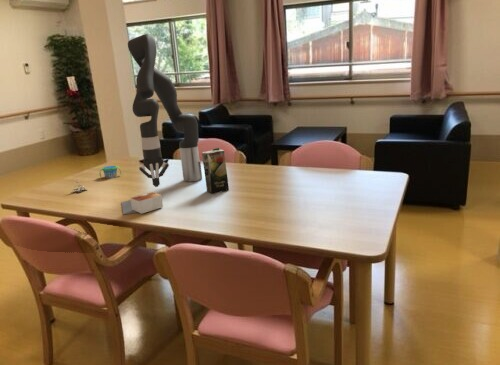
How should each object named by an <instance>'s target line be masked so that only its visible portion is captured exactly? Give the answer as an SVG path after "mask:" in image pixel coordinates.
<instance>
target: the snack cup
mask: <svg viewBox="0 0 500 365" xmlns="http://www.w3.org/2000/svg"><path fill="white" fill-rule="evenodd" d="M117 169H118V170H119V174H120V175H122V169H121V168H120V167H119V166H117V165H108V166H104V167H102V168H101V169H100V171H99V176H100V178H102V175H101V174H102V173H101V171H103V173H104V177H105V178H106V179H115V178H117V172H118V170H117Z"/></svg>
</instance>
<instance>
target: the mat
mask: <svg viewBox="0 0 500 365" xmlns="http://www.w3.org/2000/svg"><path fill="white" fill-rule="evenodd" d="M121 208H122V215H124V216H125V215H129V214H131V215H132V214H137V213H139V212H136V211H134V210H132V205H131V200H126V201H121Z"/></svg>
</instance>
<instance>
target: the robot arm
mask: <svg viewBox="0 0 500 365" xmlns="http://www.w3.org/2000/svg"><path fill="white" fill-rule="evenodd" d="M127 49H128V51H129V53H130V55H131V56H132V58H133V60H134V61H135V62H136V64H137V65H138V66H139V70H138V73H137V75H136V80H135V81H136V83H135V84H136V85H135V86H136V87H135V88H136V92H135V97H134V99H133V102H132V113H133V114H134V116H135V117H136V118H137V117H138V118H145V117H150V120H148V121H144V122H142V123H140V124H139V131H140V139H141V141H140V142H141V149H142V156H143V162H142V164H141V165H140V166H139V167H138V169H139V171H140V172H141V173H142V174H143V175H145V176H146V177H147V178H148V179H151V180H152V181H151V182H152V185H153V187H155V188H158V187H159V186H160V185H161V184H160V183H161V182H160V178H161V177H163V176H164V174H165V173H166V172H167V170H168V168H169V166H170V165H169V164H168V162H165V161H164V159H163V157H162V156H163V155H162V151H161V148H162V147H161V142H160V138H159V131H158V117H159V116H158V115H159V112H160V105H159V101H157V100H156V99H155V98H152V97H153V96H154V94H156V96H157V97H158V99H159V100H160V102H161V104H162V105H163V108H164V110H165V111H166V114H167V116H168V117H169V119H170V122H171V124H172V126H173V128H174V129H175V131H176V132H177V133H178V134H179V133H180V134H184V135H183V137H184V138H183V139H182V140H181V141H179V142H178V143H179V144H178V145H179V154H180V162H181V168H182V177H183V181H184V182H196V181H199V180H203V173H202V165H201V160H200V153H199V144H198V142H199V138H200V137H199V124H198V120H197V118H196V116H194V115H191V114H184V113H183V112H182V111H181V109H180V107H179V104H178V94H177V93H178V92H177V89H176V87H175V85H174V84H173V82H172V79H171V78H170V76H168V75H167V74H166V73H164V72H162V71H160V70H159V69H157V67H156V68H155V65H156V58H157V43H156V41H155V39H154V38H153V36H152V35H151V34H149V33H145V34H142V35H138V36H136V37H133V38H131V39H129V40H128V42H127ZM161 167H162V169H161ZM146 169H147V170H148V171H149V173H148V171H146Z"/></svg>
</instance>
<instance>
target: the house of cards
mask: <svg viewBox="0 0 500 365" xmlns="http://www.w3.org/2000/svg"><path fill="white" fill-rule="evenodd" d="M75 183H76V184H77V183H78V184H79V185H78V184H77V187H76V186H73V187H74V188H72V189H73V190H72V191H71V193H74V192H75V193H82V191H83V192H84V191H85V190H86V191H88V190H87V188H86V187H85V186H83V184H80V180H79V179H76V181H75Z"/></svg>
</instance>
